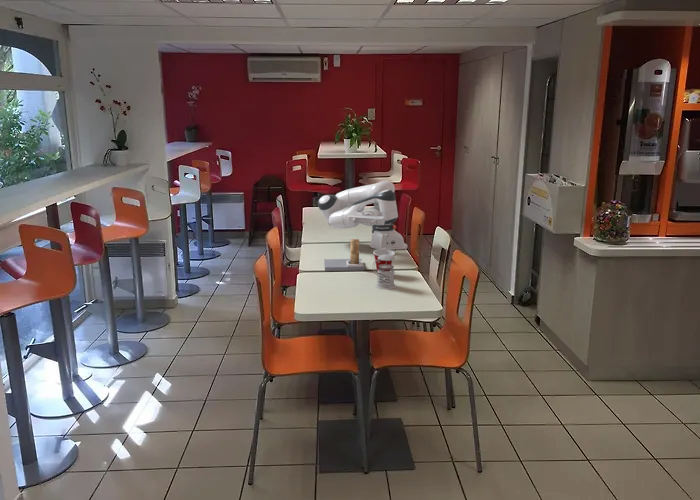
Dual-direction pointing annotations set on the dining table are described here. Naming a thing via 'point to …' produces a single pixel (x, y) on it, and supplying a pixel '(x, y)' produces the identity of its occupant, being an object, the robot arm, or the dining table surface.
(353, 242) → the oak column
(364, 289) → the dining table surface
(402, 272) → the dining table surface
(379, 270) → the french press
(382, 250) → the plastic cup
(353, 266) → the board
